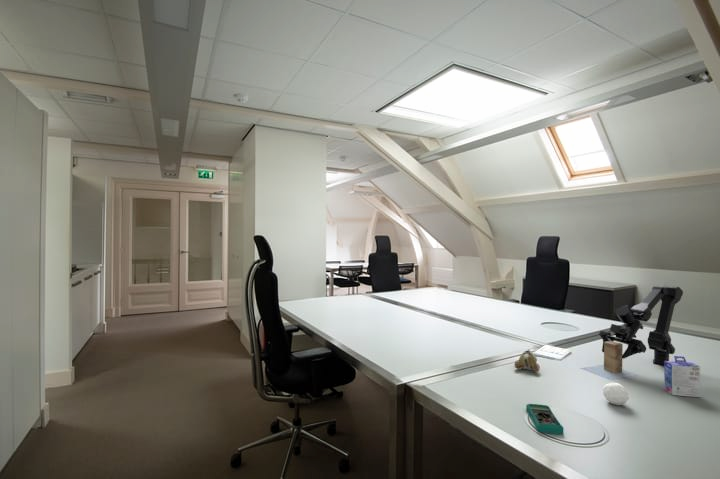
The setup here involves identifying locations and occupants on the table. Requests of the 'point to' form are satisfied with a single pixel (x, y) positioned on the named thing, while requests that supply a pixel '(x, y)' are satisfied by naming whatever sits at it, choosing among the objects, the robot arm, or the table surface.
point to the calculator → (552, 352)
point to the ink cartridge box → (682, 377)
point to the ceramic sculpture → (527, 361)
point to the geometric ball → (615, 393)
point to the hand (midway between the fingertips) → (612, 354)
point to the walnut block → (613, 356)
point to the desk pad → (607, 372)
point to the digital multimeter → (544, 419)
